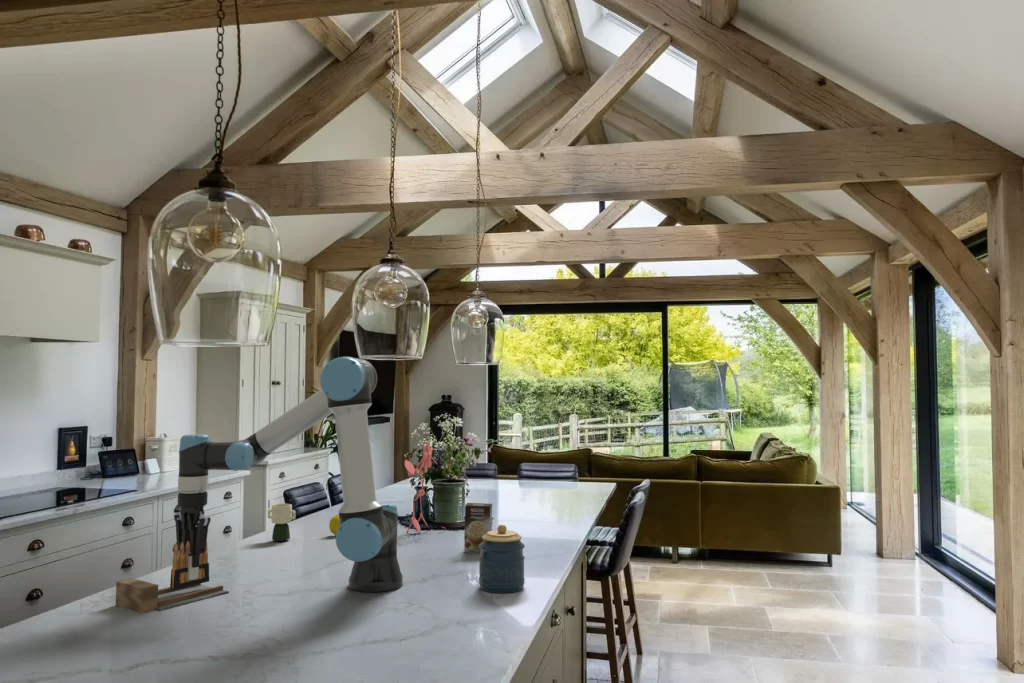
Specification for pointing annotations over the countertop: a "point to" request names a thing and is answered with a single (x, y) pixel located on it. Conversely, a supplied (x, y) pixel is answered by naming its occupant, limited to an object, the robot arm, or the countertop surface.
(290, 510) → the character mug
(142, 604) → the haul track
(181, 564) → the ammunition clip
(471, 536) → the coffee box
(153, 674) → the countertop surface
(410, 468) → the figurine
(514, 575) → the canister
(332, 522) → the lemon
